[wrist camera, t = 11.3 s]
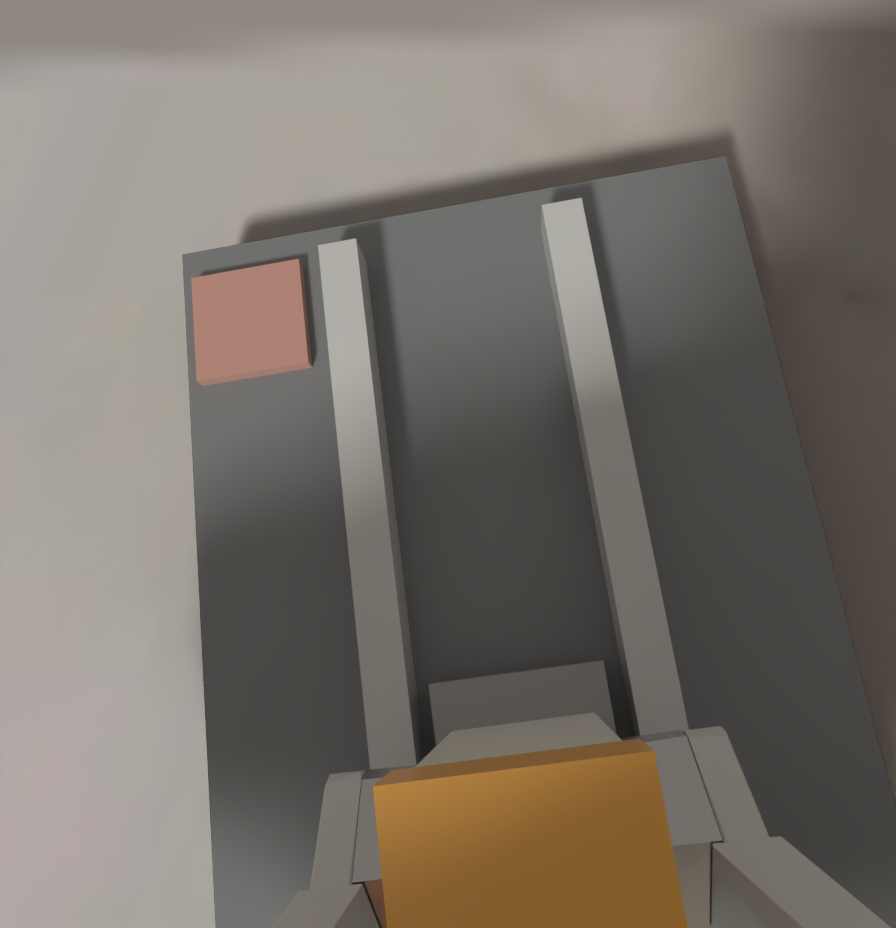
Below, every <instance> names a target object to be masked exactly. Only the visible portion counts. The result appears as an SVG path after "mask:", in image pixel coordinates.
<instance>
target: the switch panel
mask: <svg viewBox="0 0 896 928" xmlns="http://www.w3.org/2000/svg"><path fill="white" fill-rule="evenodd" d="M183 275H184V295H185V315H186V336H187V356H188V376H189V396H190V417H191V437H192V457H193V477H194V497H195V518H196V538H197V558H198V578H199V599H200V619H201V639H202V659H203V679H204V700H205V720H206V740H207V760H208V781H209V801H210V821H211V841H212V861H213V882H214V902H215V922H216V928H272V927H273V926H274V924H275V923H276V922H277V920H278V919H279V918H280V916H281V915H282V914H283V912H284V911H285V909H286V908H287V907H288V905H289V904H290V903H291V901H292V900H293V899H294V897H295V896H296V894H297V893H298V892H299V891H300V890H307V889H310V884H311V878H312V871H313V864H314V857H315V850H316V843H317V836H318V830H319V823H320V816H321V809H322V802H323V795H324V788H325V785H326V782H327V780H328V777H329V775H330V774H335V773H343V772H352V771H360V770H370V769H380V768H391V767H401V766H411V765H417V764H418V763H420V762H421V761H422V760H423V759H424V758H425V757H426V756H427V755H428V754H429V753H430V752H431V751H432V750H433V749H434V748H435V747H436V742H435V734H434V726H433V718H432V709H431V701H430V693H429V685H428V684H431V683H434V682H440V681H448V680H455V679H462V678H470V677H477V676H484V675H492V674H499V673H507V672H514V671H521V670H529V669H536V668H543V667H551V666H558V665H566V664H573V663H580V662H588V661H595V660H602V661H604V666H605V672H606V678H607V683H608V689H609V694H610V700H611V706H612V711H613V717H614V722H615V728H616V734H617V736H618V737H619V738H626V737H634V736H641V735H648V734H655V733H662V732H669V731H676V730H682V731H684V730H692V729H699V728H707V727H714V726H721V727H722V728H723V729H724V730H725V731H726V732H727V735H728V737H729V740H730V742H731V744H732V747H733V749H734V752H735V754H736V757H737V759H738V762H739V764H740V766H741V769H742V771H743V774H744V776H745V779H746V781H747V784H748V786H749V788H750V791H751V793H752V796H753V798H754V801H755V803H756V806H757V808H758V810H759V813H760V815H761V818H762V820H763V823H764V825H765V828H766V830H767V832H768V835H769V837H776V836H782V837H783V838H784V839H785V840H786V841H788V842H789V843H790V844H791V845H792V846H794V847H795V848H796V849H797V850H798V851H800V852H801V853H802V854H803V855H804V856H806V857H807V858H808V859H809V860H811V861H812V862H813V863H814V864H815V865H817V866H818V867H819V868H820V869H821V870H823V871H824V872H825V873H826V874H827V875H829V876H830V877H831V878H832V879H833V880H835V881H836V882H837V883H838V884H839V885H841V886H842V887H843V888H844V889H845V890H847V891H848V892H849V893H850V894H851V895H853V896H854V897H855V898H856V899H857V900H859V901H860V902H861V903H862V904H864V905H865V906H866V907H867V908H868V909H870V910H871V911H872V912H873V913H874V914H876V915H877V916H878V917H879V918H880V919H882V920H883V921H884V922H885V923H886V924H888V925H889V926H890V927H891V928H896V807H895V803H894V799H893V795H892V792H891V788H890V784H889V780H888V776H887V772H886V769H885V765H884V761H883V757H882V753H881V749H880V746H879V742H878V738H877V734H876V730H875V726H874V723H873V719H872V715H871V711H870V707H869V703H868V699H867V696H866V692H865V688H864V684H863V680H862V676H861V673H860V669H859V665H858V661H857V657H856V653H855V650H854V646H853V642H852V638H851V634H850V630H849V627H848V623H847V619H846V615H845V611H844V607H843V604H842V600H841V596H840V592H839V588H838V584H837V581H836V577H835V573H834V569H833V565H832V561H831V558H830V554H829V550H828V546H827V542H826V538H825V535H824V531H823V527H822V523H821V519H820V515H819V511H818V508H817V504H816V500H815V496H814V492H813V488H812V485H811V481H810V477H809V473H808V469H807V465H806V462H805V458H804V454H803V450H802V446H801V442H800V439H799V435H798V431H797V427H796V423H795V419H794V416H793V412H792V408H791V404H790V400H789V396H788V393H787V389H786V385H785V381H784V377H783V373H782V370H781V366H780V362H779V358H778V354H777V350H776V346H775V343H774V339H773V335H772V331H771V327H770V323H769V320H768V316H767V312H766V308H765V304H764V300H763V297H762V293H761V289H760V285H759V281H758V277H757V274H756V270H755V266H754V262H753V258H752V254H751V251H750V247H749V243H748V239H747V235H746V231H745V228H744V224H743V220H742V216H741V212H740V208H739V205H738V201H737V197H736V193H735V189H734V185H733V182H732V178H731V174H730V170H729V166H728V162H727V158H726V156H722V157H716V158H711V159H705V160H700V161H694V162H689V163H683V164H678V165H672V166H667V167H661V168H656V169H650V170H645V171H639V172H634V173H628V174H623V175H617V176H612V177H606V178H601V179H595V180H590V181H584V182H579V183H573V184H568V185H562V186H557V187H551V188H546V189H540V190H535V191H529V192H524V193H518V194H513V195H507V196H502V197H496V198H491V199H485V200H480V201H474V202H469V203H463V204H458V205H452V206H447V207H441V208H436V209H430V210H425V211H419V212H414V213H408V214H403V215H397V216H392V217H386V218H381V219H375V220H370V221H364V222H359V223H353V224H348V225H342V226H337V227H331V228H326V229H320V230H315V231H309V232H304V233H298V234H293V235H287V236H282V237H276V238H271V239H265V240H260V241H254V242H249V243H243V244H238V245H232V246H227V247H221V248H216V249H210V250H205V251H199V252H194V253H188V254H183ZM708 928H711V927H708Z"/></svg>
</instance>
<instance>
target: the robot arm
mask: <svg viewBox="0 0 896 928" xmlns="http://www.w3.org/2000/svg"><path fill="white" fill-rule="evenodd" d="M620 739H621V740H622V741H624V740H632V739H641V740H642V741H643V742H644V743H645V744H647V745H648V746H649V747H650V748H651V749H653V750H654V752H655V757H656V762H657V768H658V773H659V778H660V783H661V789H662V794H663V799H664V805H665V810H666V815H667V820H668V826H669V831H670V836H671V841H672V847H673V852H674V857H675V863H676V868H677V873H678V878H679V884H680V889H681V894H682V899H683V905H684V910H685V915H686V921H687V926H688V928H708V927H711V928H891V927H890V926H889V925H888V924H886V923H885V922H884V921H883V920H882V919H880V918H879V917H878V916H877V915H876V914H874V913H873V912H872V911H871V910H870V909H868V908H867V907H866V906H865V905H864V904H862V903H861V902H860V901H859V900H857V899H856V898H855V897H854V896H853V895H851V894H850V893H849V892H848V891H847V890H845V889H844V888H843V887H842V886H841V885H839V884H838V883H837V882H836V881H835V880H833V879H832V878H831V877H830V876H829V875H827V874H826V873H825V872H824V871H823V870H821V869H820V868H819V867H818V866H817V865H815V864H814V863H813V862H812V861H811V860H809V859H808V858H807V857H806V856H804V855H803V854H802V853H801V852H800V851H798V850H797V849H796V848H795V847H794V846H792V845H791V844H790V843H789V842H788V841H786V840H785V839H784V838H783V837H782V836H776V837H769V835H768V832H767V830H766V828H765V825H764V823H763V820H762V818H761V815H760V813H759V810H758V808H757V806H756V803H755V801H754V798H753V796H752V793H751V791H750V788H749V786H748V784H747V781H746V779H745V776H744V774H743V771H742V769H741V766H740V764H739V762H738V759H737V757H736V754H735V752H734V749H733V747H732V744H731V742H730V740H729V737H728V735H727V732H726V731H725V730H724V729H723V728H722V727H721V726H714V727H707V728H699V729H692V730H684V731H682V730H676V731H669V732H662V733H655V734H648V735H641V736H634V737H626V738H620ZM415 766H416V765H411V766H401V767H391V768H380V769H370V770H360V771H352V772H343V773H335V774H330V775H329V777H328V780H327V782H326V785H325V788H324V795H323V802H322V809H321V816H320V823H319V830H318V836H317V843H316V850H315V857H314V864H313V871H312V878H311V884H310V889H307V890H300V891H299V892H298V893H297V894H296V896H295V897H294V899H293V900H292V901H291V903H290V904H289V905H288V907H287V908H286V909H285V911H284V912H283V914H282V915H281V916H280V918H279V919H278V920H277V922H276V923H275V924H274V926H273V927H272V928H387V924H386V914H385V904H384V894H383V884H382V874H381V864H380V854H379V844H378V834H377V824H376V814H375V804H374V794H373V786H374V785H375V784H376V783H377V782H379V781H380V780H381V779H382V778H383V777H385V776H386V775H387V774H388V773H389V772H390V771H392V770H397V769H405V768H413V767H415Z"/></svg>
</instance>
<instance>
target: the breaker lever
mask: <svg viewBox="0 0 896 928" xmlns="http://www.w3.org/2000/svg"><path fill="white" fill-rule="evenodd" d="M428 685H429V693H430V701H431V709H432V718H433V726H434V734H435V742H436V747H435V748H434V749H433V750H432V751H431V752H430V753H429V754H428V755H427V756H426V757H425V758H424V759H423V760H422V761H421V762H420V763H418V764H417V765H416V766H415V767H413V768H405V769H397V770H392V771H390V772H389V773H388V774H387V775H386V776H385V777H383V778H382V779H381V780H380V781H379V782H377V783H376V784H375V785H374V786H373V794H374V804H375V814H376V824H377V834H378V844H379V854H380V864H381V874H382V884H383V894H384V904H385V914H386V924H387V928H688V926H687V921H686V915H685V910H684V905H683V899H682V894H681V889H680V884H679V878H678V873H677V868H676V863H675V857H674V852H673V847H672V841H671V836H670V831H669V826H668V820H667V815H666V810H665V805H664V799H663V794H662V789H661V783H660V778H659V773H658V768H657V762H656V757H655V752H654V750H653V749H651V748H650V747H649V746H648V745H647V744H645V743H644V742H643V741H642V740H641V739H632V740H624V741H622V740H621V739H620V738H619V737H618V736H617V734H616V728H615V722H614V717H613V711H612V706H611V700H610V694H609V689H608V683H607V678H606V672H605V666H604V661H602V660H595V661H588V662H580V663H573V664H566V665H558V666H551V667H543V668H536V669H529V670H521V671H514V672H507V673H499V674H492V675H484V676H477V677H470V678H462V679H455V680H448V681H440V682H434V683H431V684H428Z"/></svg>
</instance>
